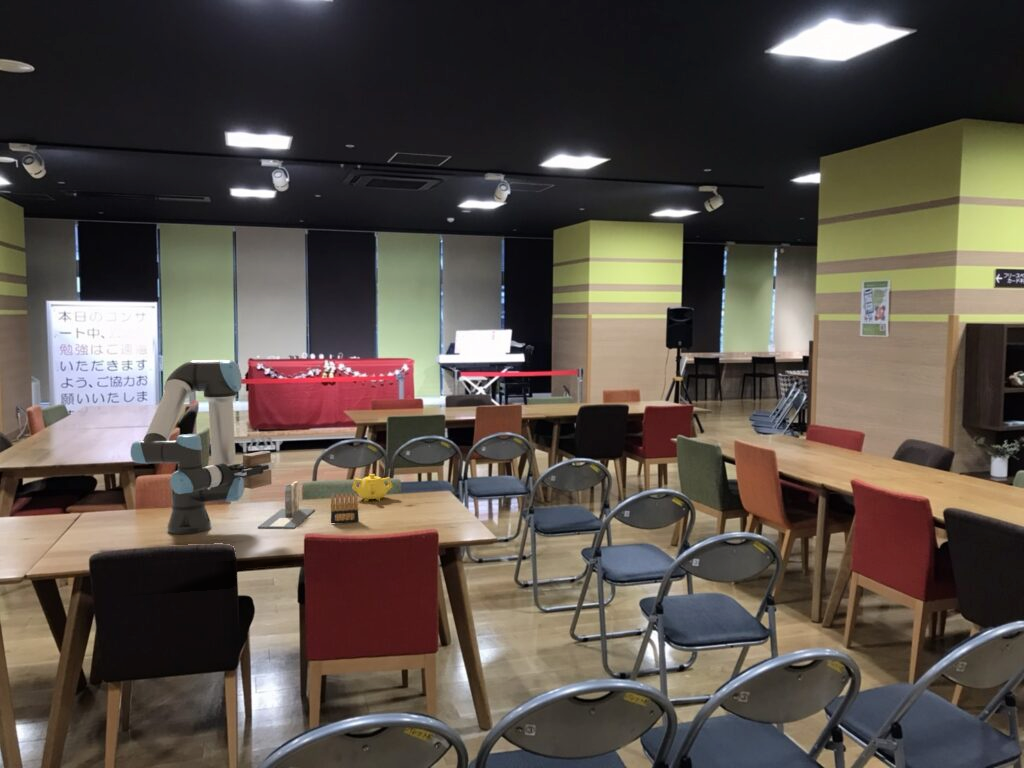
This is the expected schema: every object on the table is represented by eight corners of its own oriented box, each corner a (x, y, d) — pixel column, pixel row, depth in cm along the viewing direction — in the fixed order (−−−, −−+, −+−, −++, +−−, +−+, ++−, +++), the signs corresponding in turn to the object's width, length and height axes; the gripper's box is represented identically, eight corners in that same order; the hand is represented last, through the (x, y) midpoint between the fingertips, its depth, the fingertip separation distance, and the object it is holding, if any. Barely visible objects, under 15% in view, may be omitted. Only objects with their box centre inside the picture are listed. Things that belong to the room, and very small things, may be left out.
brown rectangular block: (243, 487, 278) (242, 454, 277) (266, 482, 287) (265, 450, 286) (251, 488, 276) (250, 456, 275) (274, 483, 285) (273, 451, 284)
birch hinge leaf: (290, 517, 306) (290, 485, 305) (284, 517, 306) (283, 485, 305) (300, 509, 318) (299, 479, 317) (294, 509, 318) (293, 479, 317)
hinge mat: (294, 528, 292) (294, 526, 292) (257, 528, 293) (257, 526, 293) (314, 510, 320) (314, 508, 320) (281, 510, 320) (281, 508, 320)
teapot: (352, 494, 348) (352, 470, 347) (392, 493, 351) (391, 469, 350) (351, 505, 328) (350, 479, 327) (393, 503, 332) (393, 478, 331)
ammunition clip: (358, 521, 303) (357, 491, 302) (358, 522, 301) (358, 492, 300) (330, 523, 300) (330, 493, 299) (331, 524, 298) (330, 494, 297)
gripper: (199, 483, 270) (253, 471, 290) (232, 489, 261) (285, 477, 281) (199, 462, 270) (252, 452, 289) (231, 467, 260) (284, 456, 280)
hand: (268, 464), depth 285 cm, fingers closed on brown rectangular block, 4 cm apart
